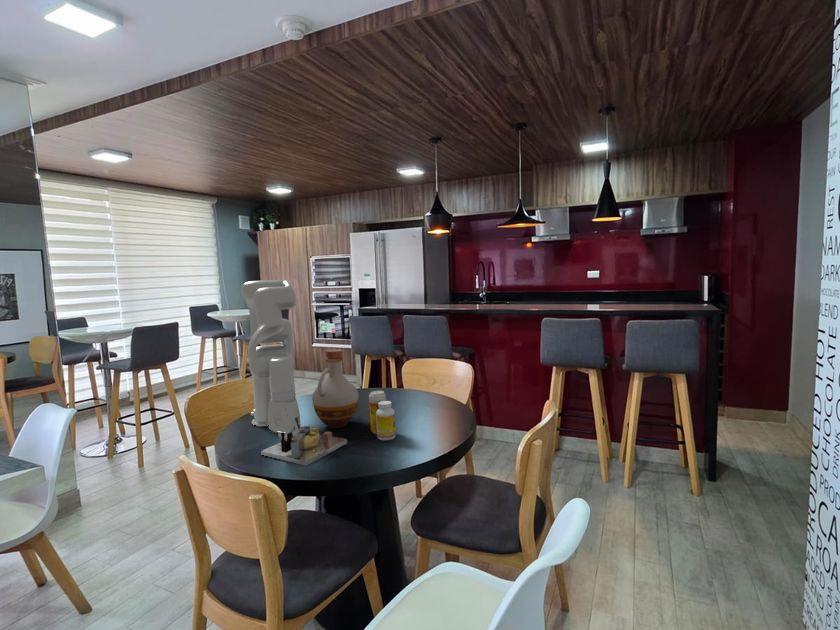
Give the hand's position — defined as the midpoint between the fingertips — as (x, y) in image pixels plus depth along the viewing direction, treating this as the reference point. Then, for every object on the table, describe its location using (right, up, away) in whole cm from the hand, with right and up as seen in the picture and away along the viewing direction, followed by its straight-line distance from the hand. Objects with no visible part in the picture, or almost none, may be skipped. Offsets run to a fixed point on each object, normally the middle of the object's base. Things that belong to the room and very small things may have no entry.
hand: (287, 450), depth 142 cm
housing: (+4, -2, +8) cm, 9 cm away
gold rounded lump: (+4, 0, +4) cm, 6 cm away
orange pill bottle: (+28, 0, +22) cm, 35 cm away
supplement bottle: (+31, 0, +15) cm, 35 cm away
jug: (+10, 0, +31) cm, 32 cm away
